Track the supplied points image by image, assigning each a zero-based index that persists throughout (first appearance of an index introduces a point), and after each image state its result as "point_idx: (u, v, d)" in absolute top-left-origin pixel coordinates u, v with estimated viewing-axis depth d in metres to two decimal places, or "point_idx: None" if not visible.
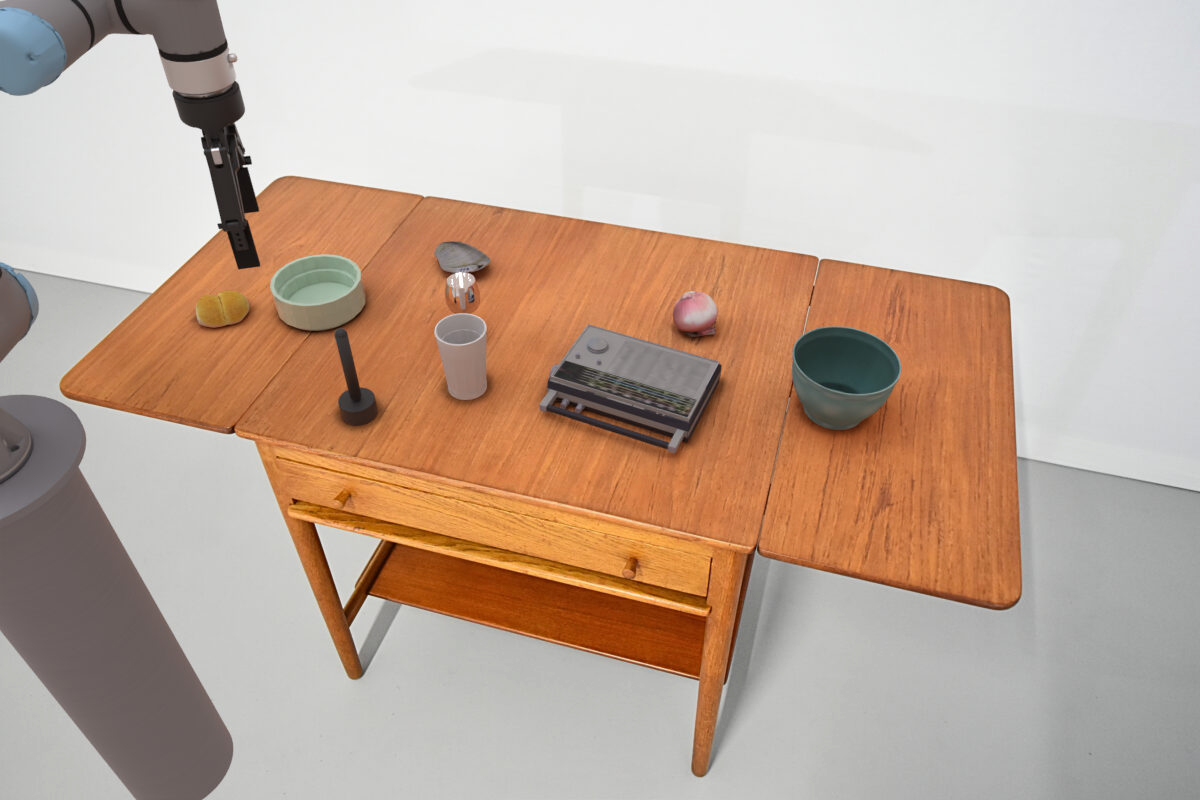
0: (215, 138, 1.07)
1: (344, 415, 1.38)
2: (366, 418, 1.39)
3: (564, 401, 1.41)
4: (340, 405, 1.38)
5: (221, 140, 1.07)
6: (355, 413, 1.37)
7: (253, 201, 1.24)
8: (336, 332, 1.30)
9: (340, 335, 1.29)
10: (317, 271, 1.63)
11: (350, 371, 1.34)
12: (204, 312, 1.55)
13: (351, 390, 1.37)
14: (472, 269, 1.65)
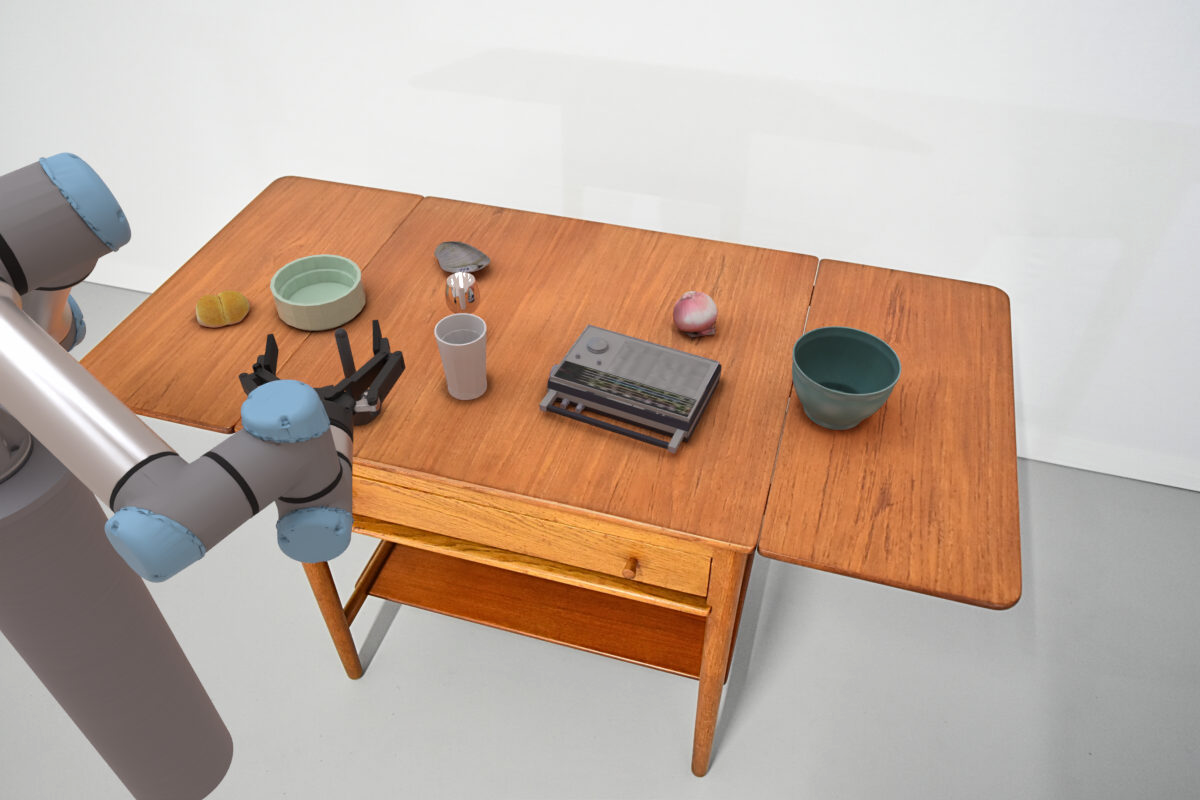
0: None
1: None
2: (366, 418, 1.39)
3: (564, 401, 1.41)
4: None
5: None
6: None
7: None
8: (336, 332, 1.30)
9: (340, 335, 1.29)
10: (317, 271, 1.63)
11: (350, 371, 1.34)
12: (204, 312, 1.55)
13: None
14: (472, 269, 1.65)
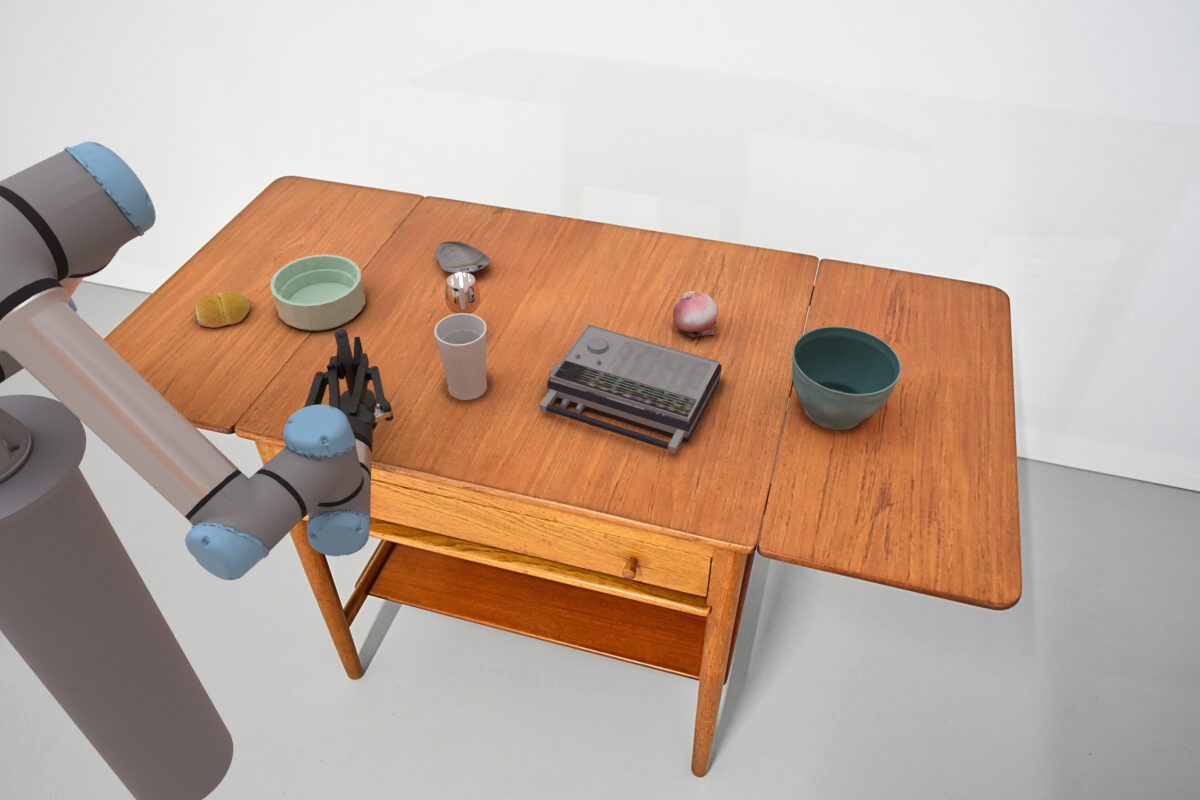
0: None
1: None
2: None
3: (564, 401, 1.41)
4: None
5: None
6: None
7: None
8: (336, 332, 1.30)
9: (340, 335, 1.29)
10: (317, 271, 1.63)
11: (350, 371, 1.34)
12: (204, 312, 1.55)
13: (351, 390, 1.37)
14: (472, 269, 1.65)
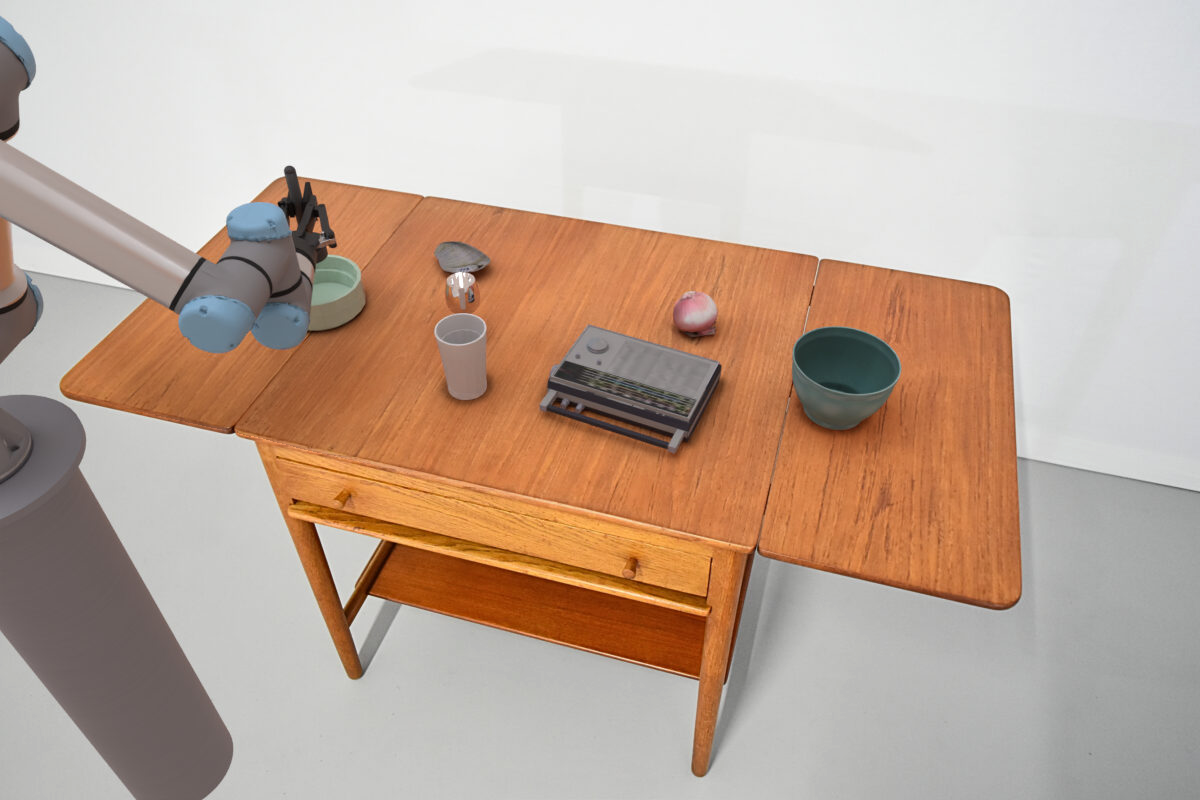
0: None
1: None
2: None
3: (564, 401, 1.41)
4: None
5: None
6: None
7: None
8: (285, 168, 1.41)
9: (289, 171, 1.41)
10: (317, 271, 1.63)
11: (300, 209, 1.46)
12: None
13: None
14: (472, 269, 1.65)
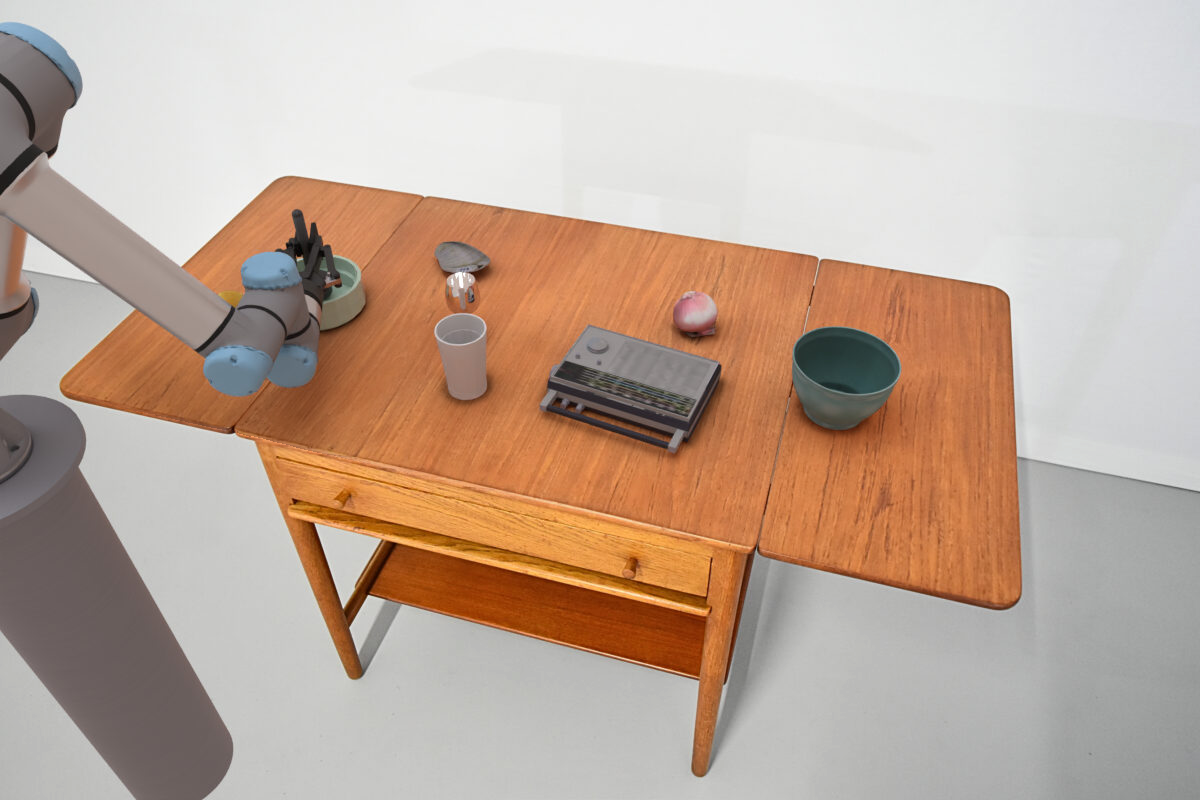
0: None
1: None
2: None
3: (564, 401, 1.41)
4: None
5: None
6: None
7: None
8: (293, 212, 1.49)
9: (296, 214, 1.49)
10: None
11: (306, 249, 1.54)
12: None
13: None
14: (472, 269, 1.65)
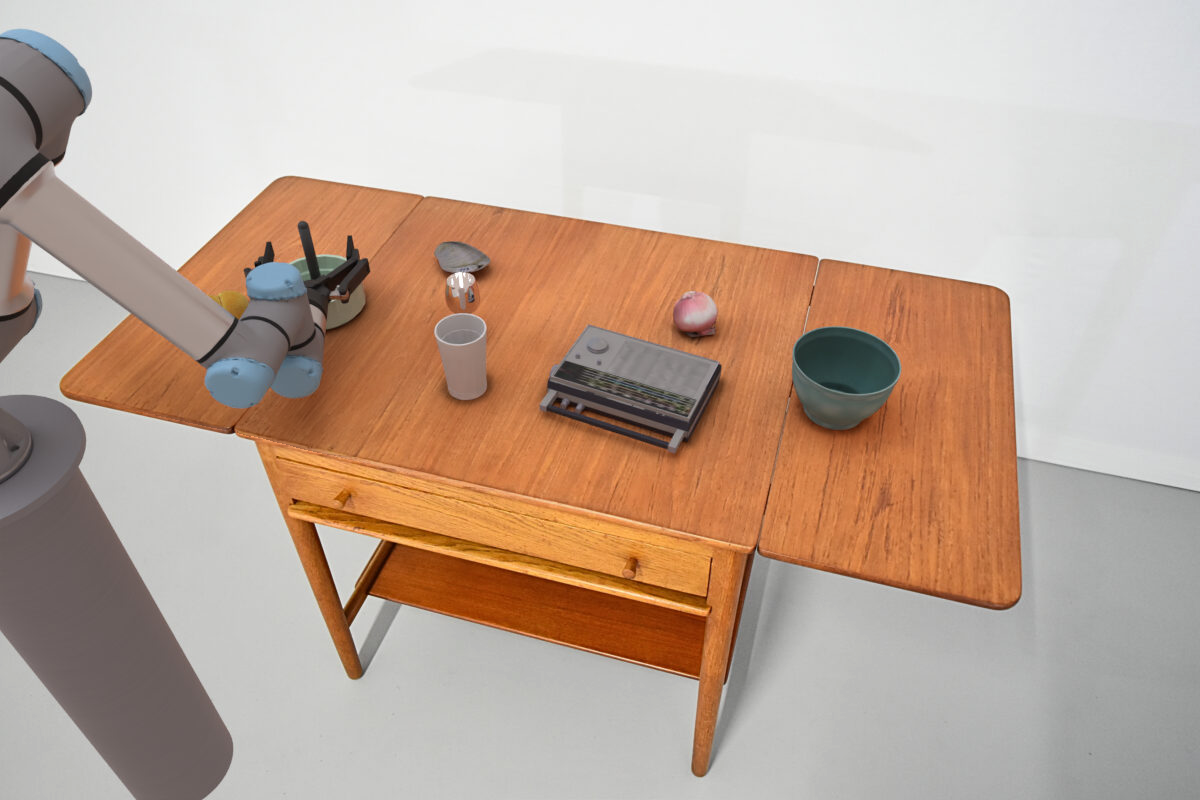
0: None
1: None
2: None
3: (564, 401, 1.41)
4: None
5: None
6: None
7: None
8: (299, 224, 1.49)
9: (302, 226, 1.49)
10: None
11: (312, 261, 1.54)
12: None
13: None
14: (472, 269, 1.65)
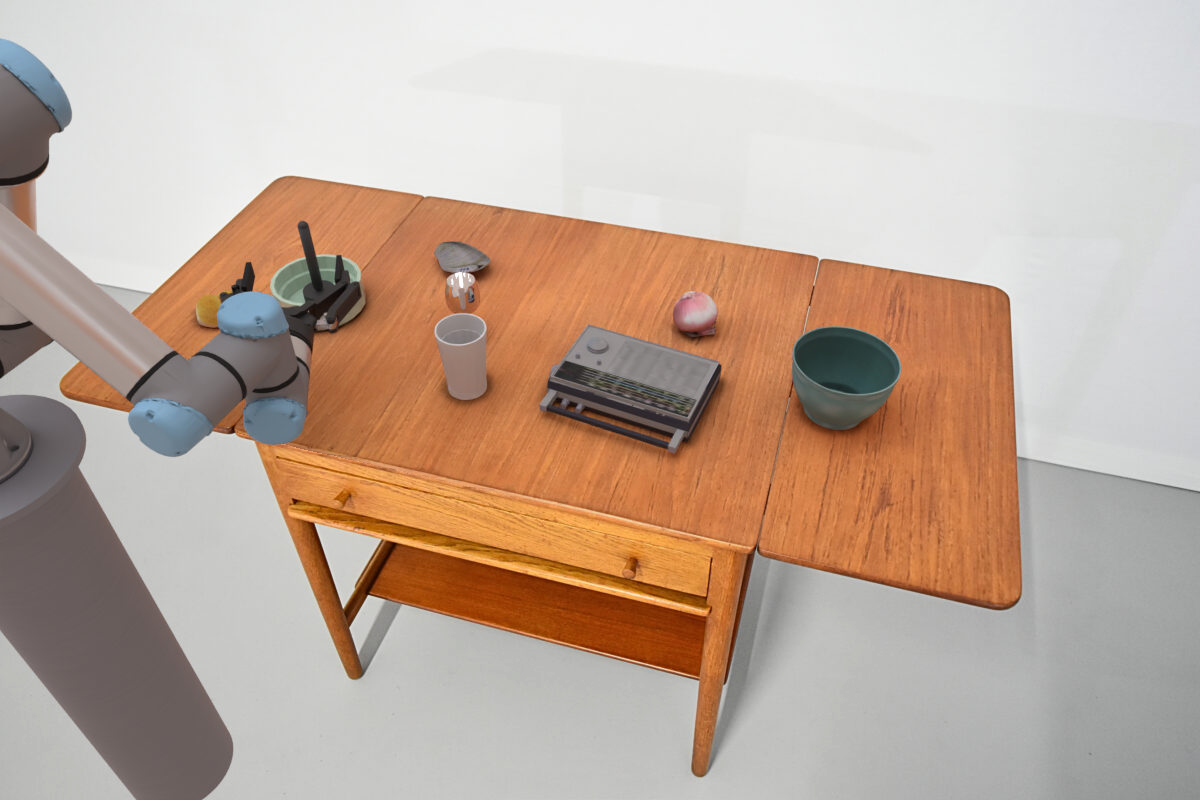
0: None
1: None
2: None
3: (564, 401, 1.41)
4: (304, 293, 1.58)
5: None
6: None
7: None
8: (299, 224, 1.49)
9: (302, 226, 1.49)
10: None
11: (312, 261, 1.54)
12: (205, 312, 1.55)
13: (313, 279, 1.56)
14: (472, 269, 1.65)
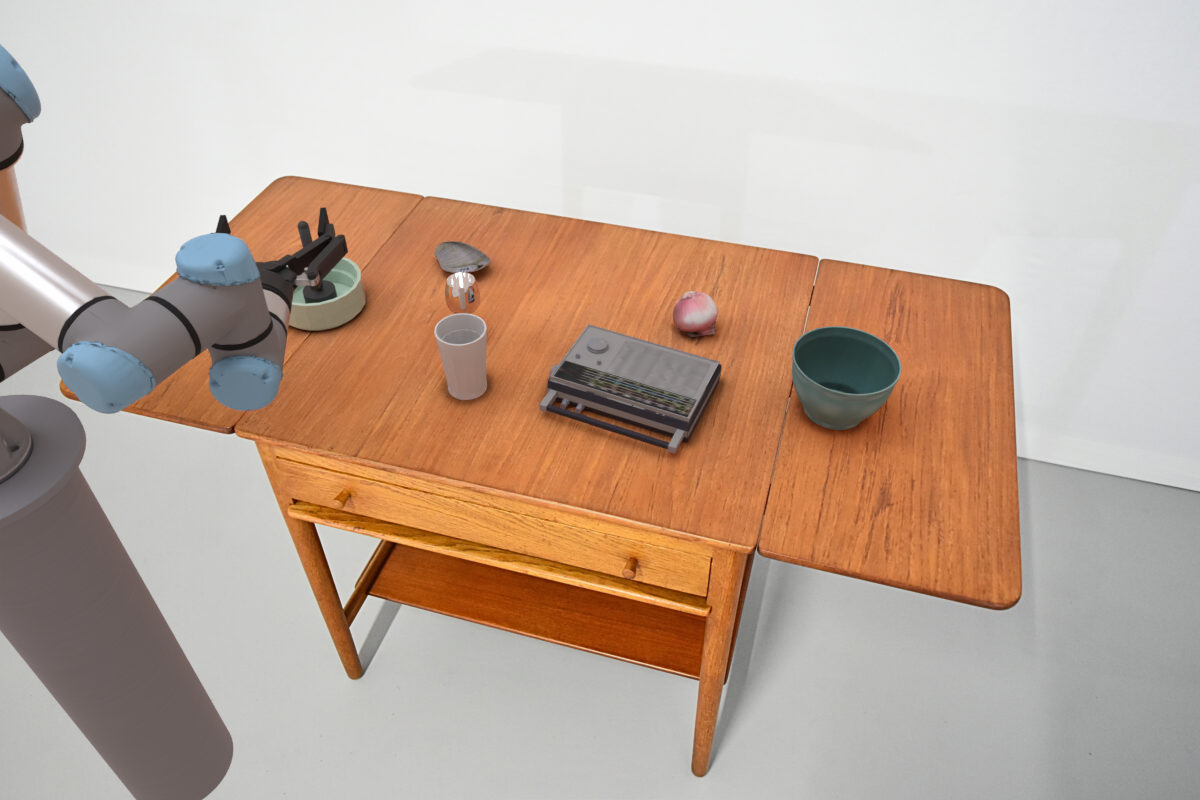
0: None
1: (308, 302, 1.58)
2: None
3: (564, 401, 1.41)
4: (304, 293, 1.58)
5: None
6: (317, 300, 1.57)
7: None
8: (299, 224, 1.49)
9: (302, 226, 1.49)
10: None
11: None
12: None
13: None
14: (472, 269, 1.65)
